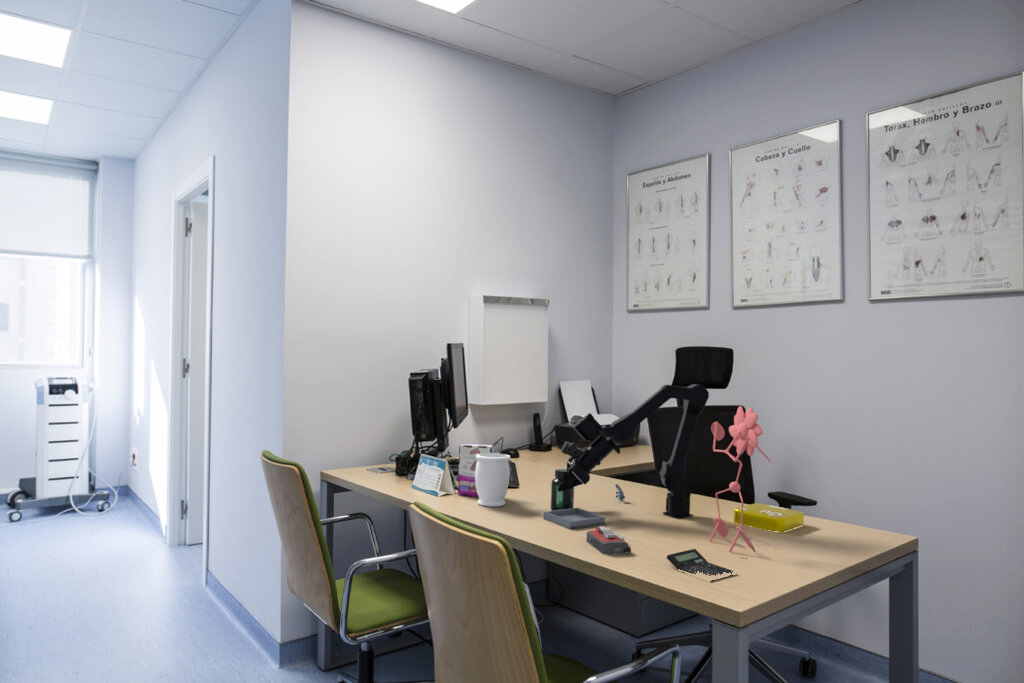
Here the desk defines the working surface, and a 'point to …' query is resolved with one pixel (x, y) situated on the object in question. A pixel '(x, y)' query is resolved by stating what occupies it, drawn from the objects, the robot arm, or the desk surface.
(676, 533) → the desk surface
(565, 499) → the supplement bottle
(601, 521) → the tray
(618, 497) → the sculpture
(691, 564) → the calculator
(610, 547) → the walkie-talkie
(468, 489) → the candy bar box
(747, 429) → the figurine
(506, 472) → the jar
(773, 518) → the element tile
